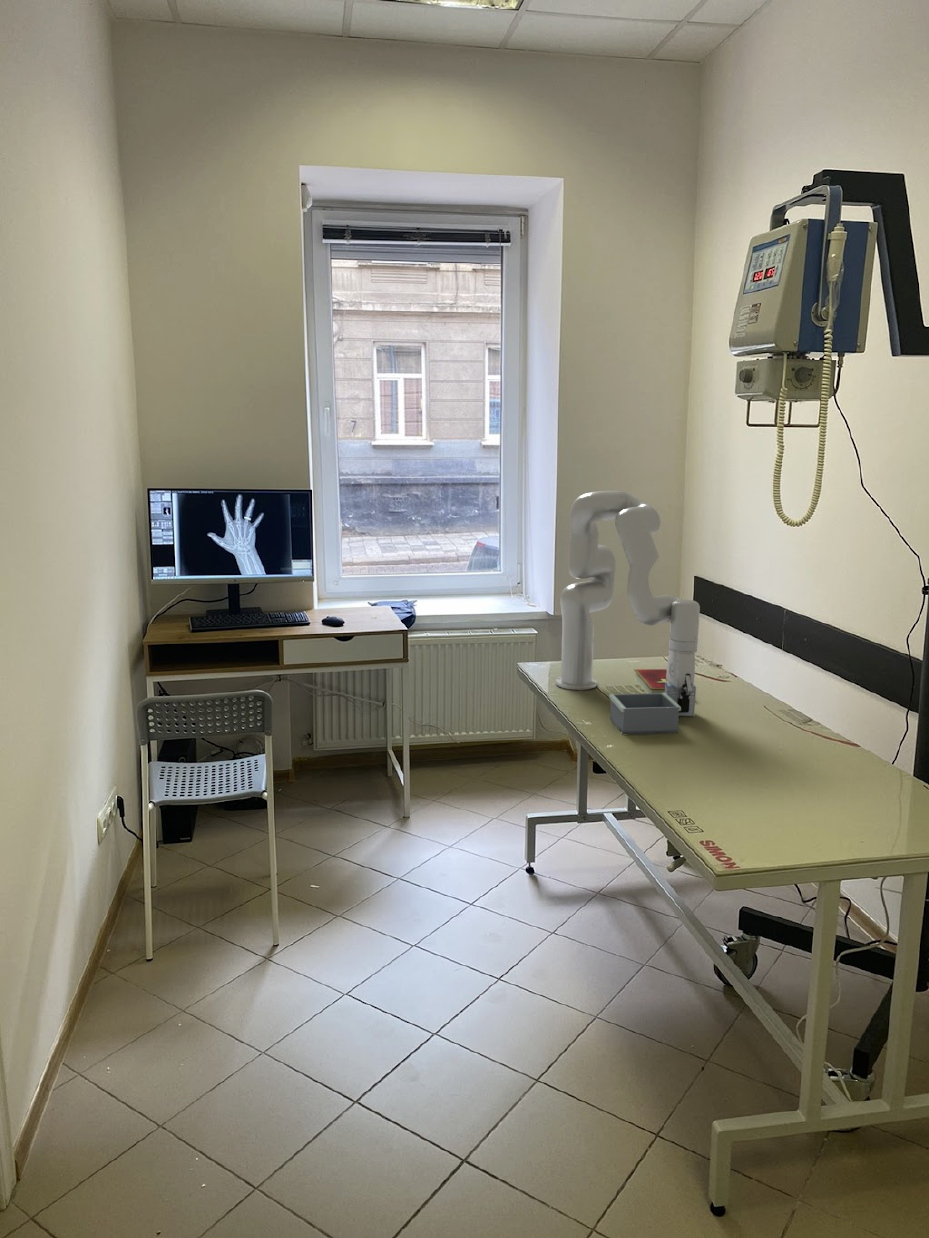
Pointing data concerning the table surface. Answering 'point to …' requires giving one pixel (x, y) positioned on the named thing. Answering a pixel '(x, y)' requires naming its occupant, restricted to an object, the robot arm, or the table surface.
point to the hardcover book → (651, 680)
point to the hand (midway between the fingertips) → (679, 708)
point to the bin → (644, 713)
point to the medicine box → (674, 694)
